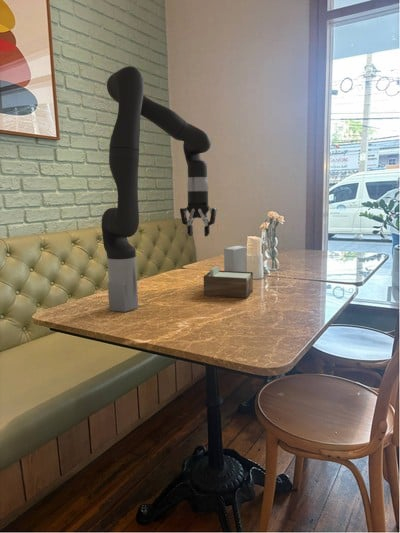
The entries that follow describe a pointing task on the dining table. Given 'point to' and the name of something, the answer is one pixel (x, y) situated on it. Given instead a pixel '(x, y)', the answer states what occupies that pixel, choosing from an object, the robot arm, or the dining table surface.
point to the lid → (228, 274)
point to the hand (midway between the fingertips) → (198, 235)
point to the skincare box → (235, 259)
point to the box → (228, 286)
